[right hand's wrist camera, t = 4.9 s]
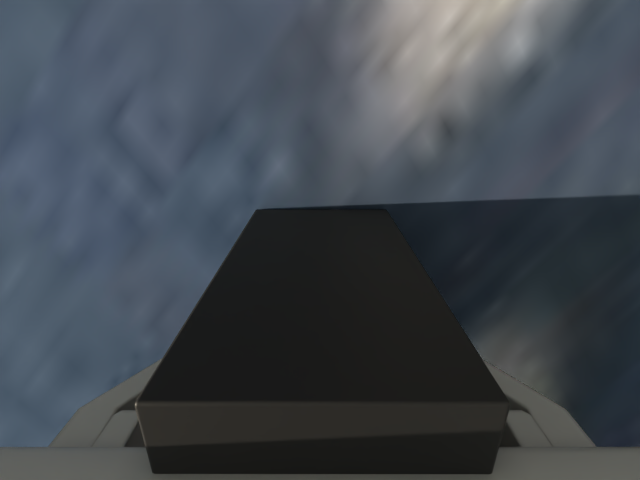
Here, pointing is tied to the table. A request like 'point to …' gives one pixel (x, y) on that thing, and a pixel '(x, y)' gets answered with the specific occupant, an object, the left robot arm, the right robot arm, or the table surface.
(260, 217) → the bar
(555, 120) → the table surface
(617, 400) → the table surface
